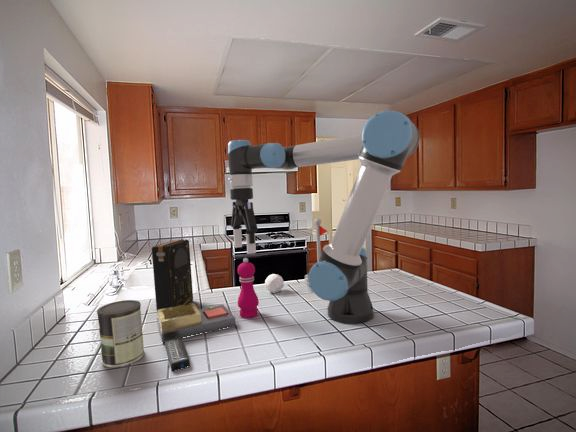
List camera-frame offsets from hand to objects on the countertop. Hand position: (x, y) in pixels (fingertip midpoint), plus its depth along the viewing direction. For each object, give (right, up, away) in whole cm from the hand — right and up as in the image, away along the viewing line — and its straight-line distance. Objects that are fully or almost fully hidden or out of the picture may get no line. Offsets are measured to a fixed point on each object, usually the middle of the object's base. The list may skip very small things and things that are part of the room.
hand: (244, 250), depth 113 cm
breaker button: (-9, -23, -3) cm, 25 cm away
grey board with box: (-15, -24, -6) cm, 29 cm away
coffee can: (-29, -26, -24) cm, 46 cm away
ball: (+9, -20, +26) cm, 34 cm away
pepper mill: (+1, -23, +2) cm, 23 cm away
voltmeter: (-28, -23, +13) cm, 38 cm away
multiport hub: (-15, -26, -25) cm, 39 cm away
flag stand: (+28, -19, +28) cm, 44 cm away
